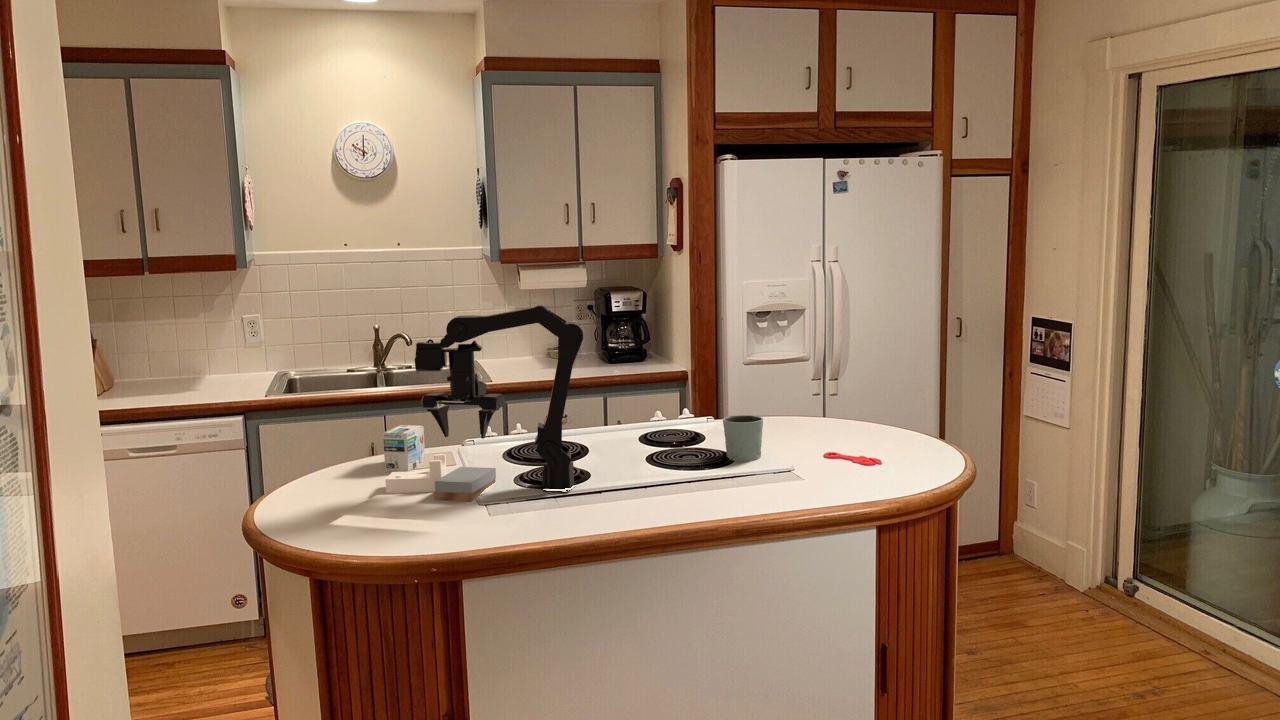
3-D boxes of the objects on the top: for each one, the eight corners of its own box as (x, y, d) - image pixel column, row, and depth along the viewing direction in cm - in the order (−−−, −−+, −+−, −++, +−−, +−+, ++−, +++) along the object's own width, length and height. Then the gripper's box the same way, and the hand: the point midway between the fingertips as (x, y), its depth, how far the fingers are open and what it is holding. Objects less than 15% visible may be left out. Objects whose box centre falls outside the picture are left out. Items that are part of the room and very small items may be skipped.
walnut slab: (495, 488, 233) (495, 478, 232) (470, 504, 219) (470, 493, 219) (461, 487, 235) (460, 477, 235) (434, 502, 222) (433, 492, 221)
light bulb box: (408, 475, 246) (406, 433, 244) (384, 474, 247) (381, 432, 246) (426, 465, 256) (424, 424, 255) (402, 464, 257) (400, 424, 256)
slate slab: (496, 478, 233) (495, 467, 232) (472, 493, 219) (471, 482, 219) (461, 476, 235) (460, 466, 235) (435, 491, 221) (434, 481, 221)
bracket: (446, 484, 236) (445, 454, 235) (441, 492, 229) (440, 461, 228) (392, 486, 236) (391, 455, 235) (386, 494, 229) (384, 462, 228)
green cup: (769, 462, 251) (769, 416, 249) (752, 470, 242) (752, 423, 241) (734, 458, 256) (734, 413, 255) (716, 466, 248) (715, 420, 246)
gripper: (513, 366, 229) (515, 432, 231) (441, 365, 234) (444, 429, 236) (493, 373, 219) (496, 441, 221) (418, 372, 224) (422, 438, 226)
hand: (464, 437), depth 226 cm, fingers open, 9 cm apart
